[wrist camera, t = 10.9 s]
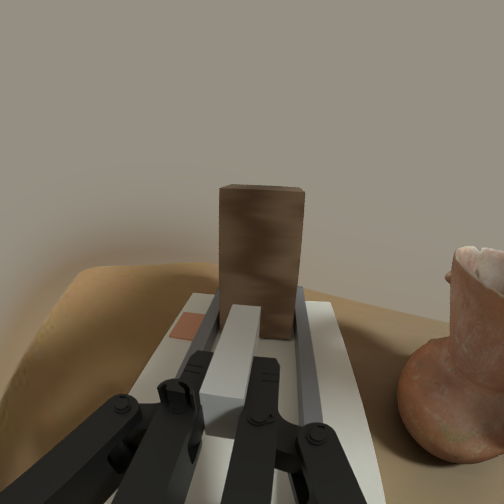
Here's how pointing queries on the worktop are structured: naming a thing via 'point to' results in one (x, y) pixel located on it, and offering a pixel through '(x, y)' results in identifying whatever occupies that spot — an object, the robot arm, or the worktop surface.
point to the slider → (260, 253)
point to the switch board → (290, 391)
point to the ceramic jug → (461, 367)
